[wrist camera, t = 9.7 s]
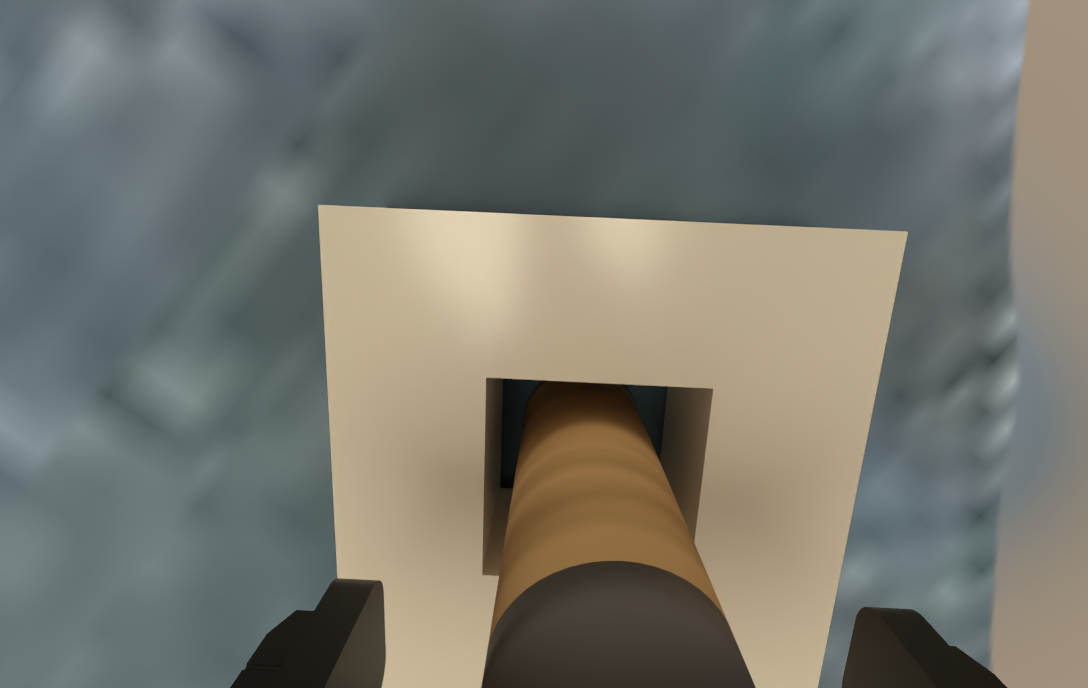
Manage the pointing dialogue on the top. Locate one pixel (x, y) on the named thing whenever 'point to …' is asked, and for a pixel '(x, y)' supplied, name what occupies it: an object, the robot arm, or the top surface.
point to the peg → (601, 559)
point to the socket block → (599, 357)
